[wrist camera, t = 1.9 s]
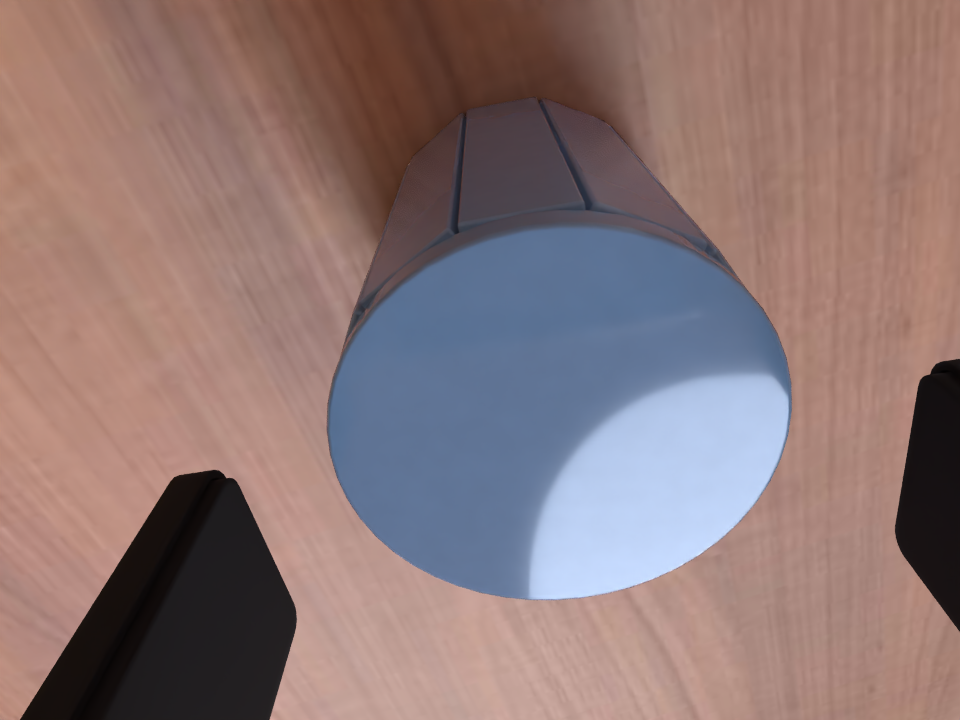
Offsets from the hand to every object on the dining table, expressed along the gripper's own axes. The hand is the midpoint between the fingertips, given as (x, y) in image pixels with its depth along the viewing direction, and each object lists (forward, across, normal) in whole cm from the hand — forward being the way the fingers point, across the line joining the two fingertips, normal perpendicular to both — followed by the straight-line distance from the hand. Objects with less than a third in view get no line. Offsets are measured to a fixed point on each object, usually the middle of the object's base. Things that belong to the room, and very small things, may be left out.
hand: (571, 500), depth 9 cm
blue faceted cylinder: (+10, 0, -1) cm, 10 cm away
